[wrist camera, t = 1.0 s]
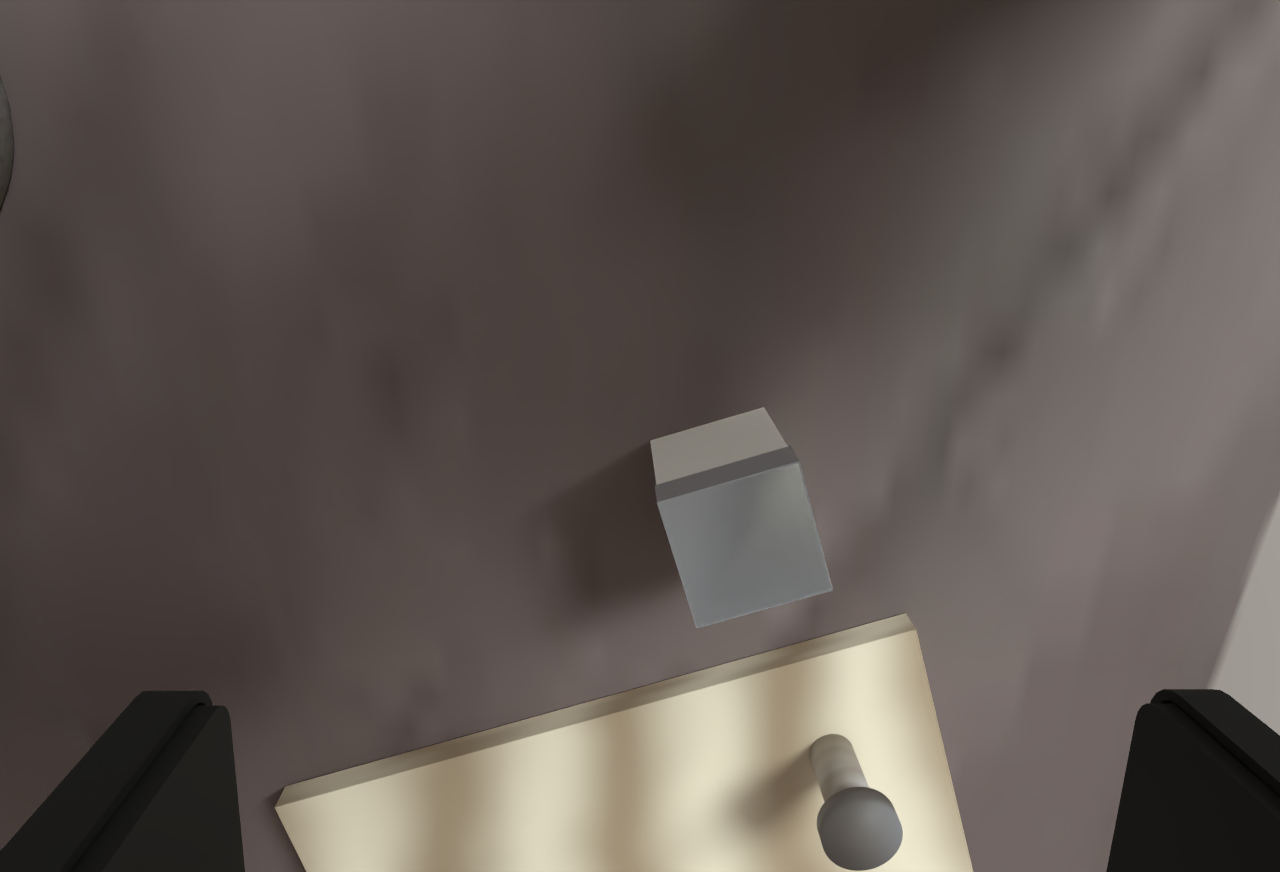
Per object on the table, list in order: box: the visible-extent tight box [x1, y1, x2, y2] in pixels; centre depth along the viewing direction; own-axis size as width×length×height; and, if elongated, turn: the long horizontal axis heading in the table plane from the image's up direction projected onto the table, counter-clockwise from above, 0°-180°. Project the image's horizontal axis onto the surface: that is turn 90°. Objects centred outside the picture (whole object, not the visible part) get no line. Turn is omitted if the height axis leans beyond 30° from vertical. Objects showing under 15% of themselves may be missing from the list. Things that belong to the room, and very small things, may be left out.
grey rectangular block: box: [650, 407, 833, 629], centre depth 29 cm, size 4×4×6 cm
